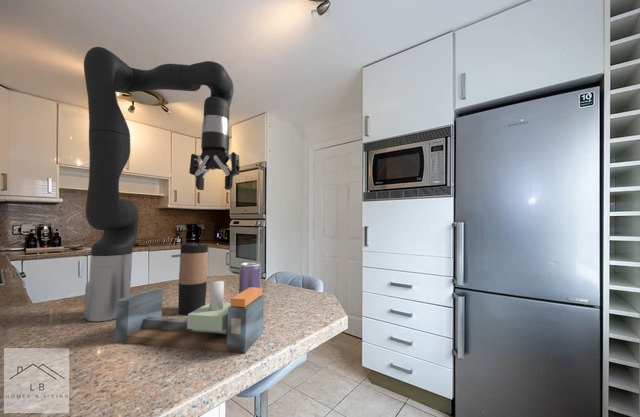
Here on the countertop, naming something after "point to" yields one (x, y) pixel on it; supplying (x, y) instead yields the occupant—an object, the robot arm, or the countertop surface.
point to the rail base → (185, 325)
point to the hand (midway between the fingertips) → (213, 189)
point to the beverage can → (249, 276)
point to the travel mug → (192, 277)
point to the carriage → (211, 312)
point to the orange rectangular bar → (246, 297)
